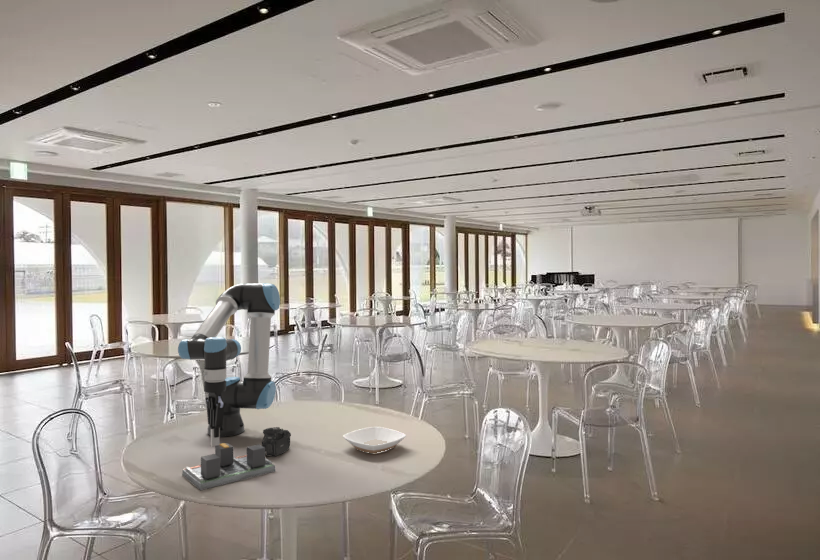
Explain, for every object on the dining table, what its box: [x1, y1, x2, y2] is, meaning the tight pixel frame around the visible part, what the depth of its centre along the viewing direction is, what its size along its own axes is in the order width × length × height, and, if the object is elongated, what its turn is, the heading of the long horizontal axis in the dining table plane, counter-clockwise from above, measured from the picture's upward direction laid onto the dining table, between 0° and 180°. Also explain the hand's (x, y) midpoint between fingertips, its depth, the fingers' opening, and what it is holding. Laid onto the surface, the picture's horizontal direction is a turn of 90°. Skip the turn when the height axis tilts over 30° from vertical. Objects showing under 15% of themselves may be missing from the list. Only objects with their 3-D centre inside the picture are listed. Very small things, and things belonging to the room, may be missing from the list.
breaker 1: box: [200, 453, 220, 479], centre depth 183 cm, size 5×4×6 cm
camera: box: [261, 426, 292, 457], centre depth 214 cm, size 13×10×10 cm
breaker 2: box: [214, 442, 234, 466], centre depth 195 cm, size 5×4×6 cm
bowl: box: [342, 426, 407, 453], centre depth 219 cm, size 22×22×5 cm
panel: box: [182, 454, 276, 491], centre depth 192 cm, size 17×26×3 cm, turn 130°
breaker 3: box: [246, 443, 266, 468], centre depth 194 cm, size 5×4×6 cm
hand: (215, 445), depth 201 cm, fingers closed
